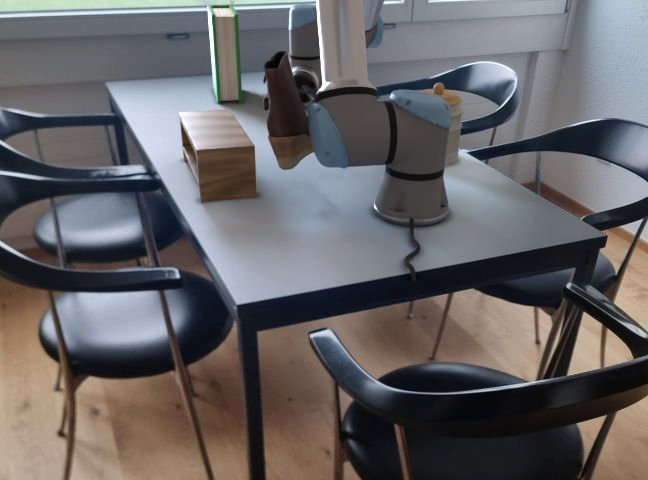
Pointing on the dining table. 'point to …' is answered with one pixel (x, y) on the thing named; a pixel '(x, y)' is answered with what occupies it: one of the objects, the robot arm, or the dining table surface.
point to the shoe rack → (218, 155)
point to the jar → (454, 120)
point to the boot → (285, 113)
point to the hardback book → (225, 52)
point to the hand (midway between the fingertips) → (292, 114)
